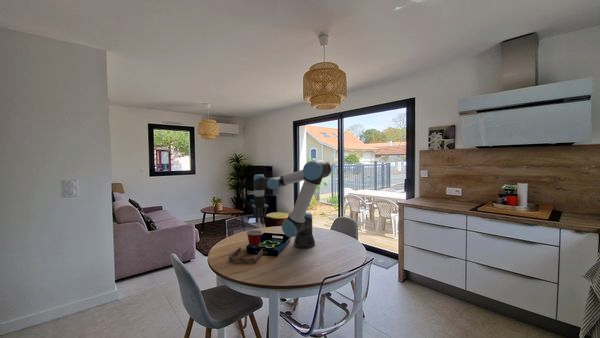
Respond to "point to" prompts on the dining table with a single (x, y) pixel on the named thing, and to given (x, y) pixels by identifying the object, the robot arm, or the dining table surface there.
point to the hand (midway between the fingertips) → (259, 227)
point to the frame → (244, 259)
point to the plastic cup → (254, 237)
